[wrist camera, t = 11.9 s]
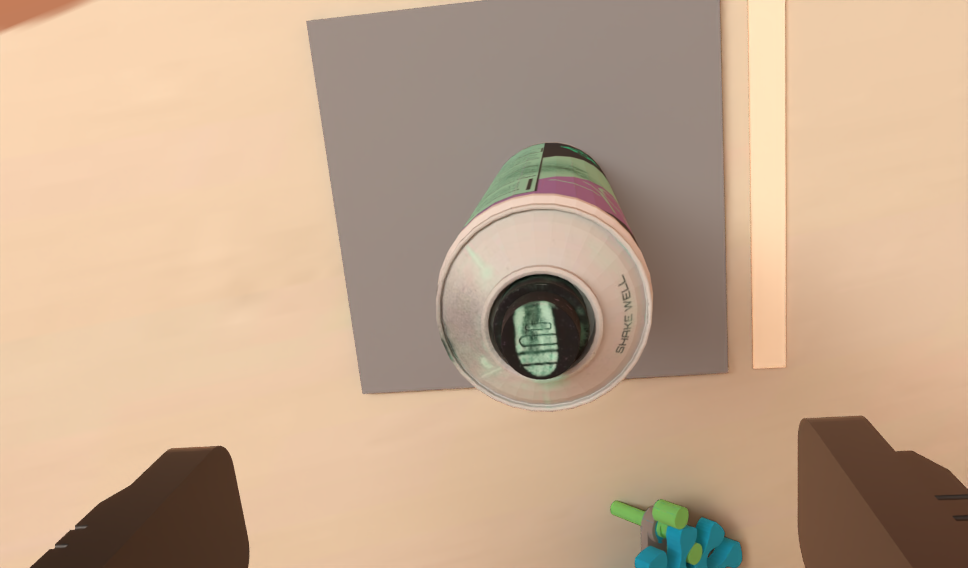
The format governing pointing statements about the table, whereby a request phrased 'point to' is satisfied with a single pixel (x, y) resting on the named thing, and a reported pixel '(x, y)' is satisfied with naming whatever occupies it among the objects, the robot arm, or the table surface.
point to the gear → (678, 538)
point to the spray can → (545, 285)
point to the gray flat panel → (536, 119)
